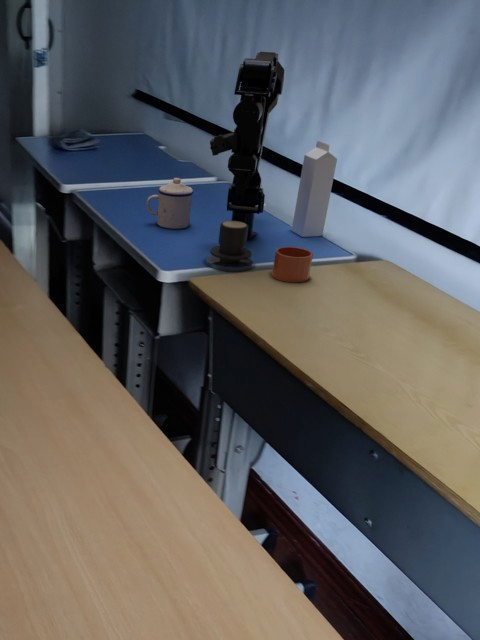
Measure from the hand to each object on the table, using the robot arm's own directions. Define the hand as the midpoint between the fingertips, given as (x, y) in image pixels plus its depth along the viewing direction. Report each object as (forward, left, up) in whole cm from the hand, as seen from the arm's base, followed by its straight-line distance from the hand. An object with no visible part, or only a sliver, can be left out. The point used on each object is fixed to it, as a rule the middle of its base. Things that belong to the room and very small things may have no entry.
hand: (240, 194), depth 198 cm
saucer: (+11, +3, -13) cm, 18 cm away
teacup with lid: (-11, -23, -13) cm, 29 cm away
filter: (+11, +3, -12) cm, 17 cm away
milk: (-25, +11, -13) cm, 30 cm away
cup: (+12, +18, -13) cm, 26 cm away
